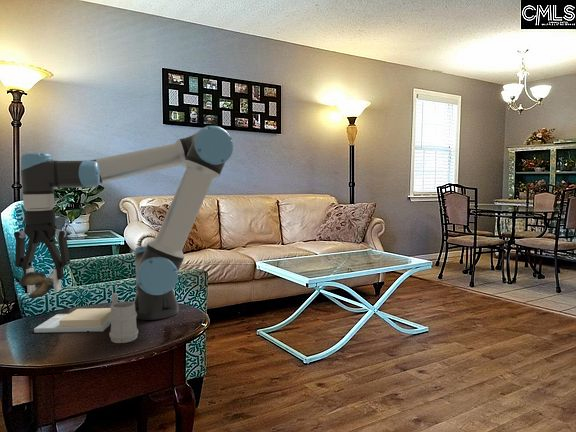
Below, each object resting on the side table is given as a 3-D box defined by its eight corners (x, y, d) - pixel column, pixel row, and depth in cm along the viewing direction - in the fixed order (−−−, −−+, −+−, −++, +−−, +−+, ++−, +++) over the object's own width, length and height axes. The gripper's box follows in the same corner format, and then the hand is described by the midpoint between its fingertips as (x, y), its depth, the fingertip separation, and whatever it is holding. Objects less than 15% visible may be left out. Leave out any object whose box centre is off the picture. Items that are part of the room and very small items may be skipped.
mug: (116, 345, 118) (114, 302, 117) (99, 335, 127) (98, 294, 126) (143, 338, 124) (141, 297, 123) (125, 328, 132) (124, 289, 131)
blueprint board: (119, 316, 144) (118, 307, 144) (103, 331, 130) (102, 320, 130) (57, 317, 143) (56, 308, 143) (34, 332, 129) (33, 321, 129)
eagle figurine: (29, 286, 126) (11, 288, 117) (44, 265, 126) (27, 265, 117) (52, 300, 125) (36, 303, 117) (66, 279, 126) (51, 280, 117)
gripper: (81, 208, 126) (85, 286, 128) (11, 209, 125) (16, 288, 127) (69, 209, 118) (74, 293, 120) (-5, 211, 117) (1, 295, 119)
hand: (44, 290), depth 123 cm, fingers closed on eagle figurine, 7 cm apart
